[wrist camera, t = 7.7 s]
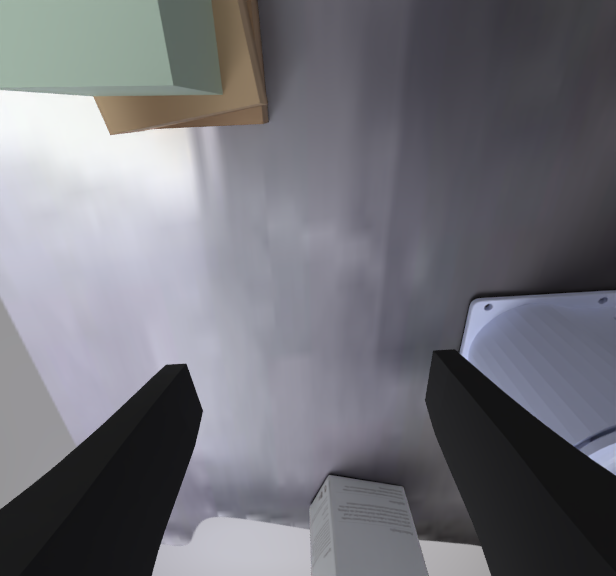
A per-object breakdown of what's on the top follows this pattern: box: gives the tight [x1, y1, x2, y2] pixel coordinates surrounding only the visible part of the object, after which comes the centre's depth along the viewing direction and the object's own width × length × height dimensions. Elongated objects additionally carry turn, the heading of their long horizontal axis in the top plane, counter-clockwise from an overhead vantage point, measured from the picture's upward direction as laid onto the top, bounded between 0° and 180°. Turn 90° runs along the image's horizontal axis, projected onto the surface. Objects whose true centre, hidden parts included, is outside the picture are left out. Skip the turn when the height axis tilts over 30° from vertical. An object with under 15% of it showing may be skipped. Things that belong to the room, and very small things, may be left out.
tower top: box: [93, 0, 268, 135], centre depth 11 cm, size 6×6×2 cm
